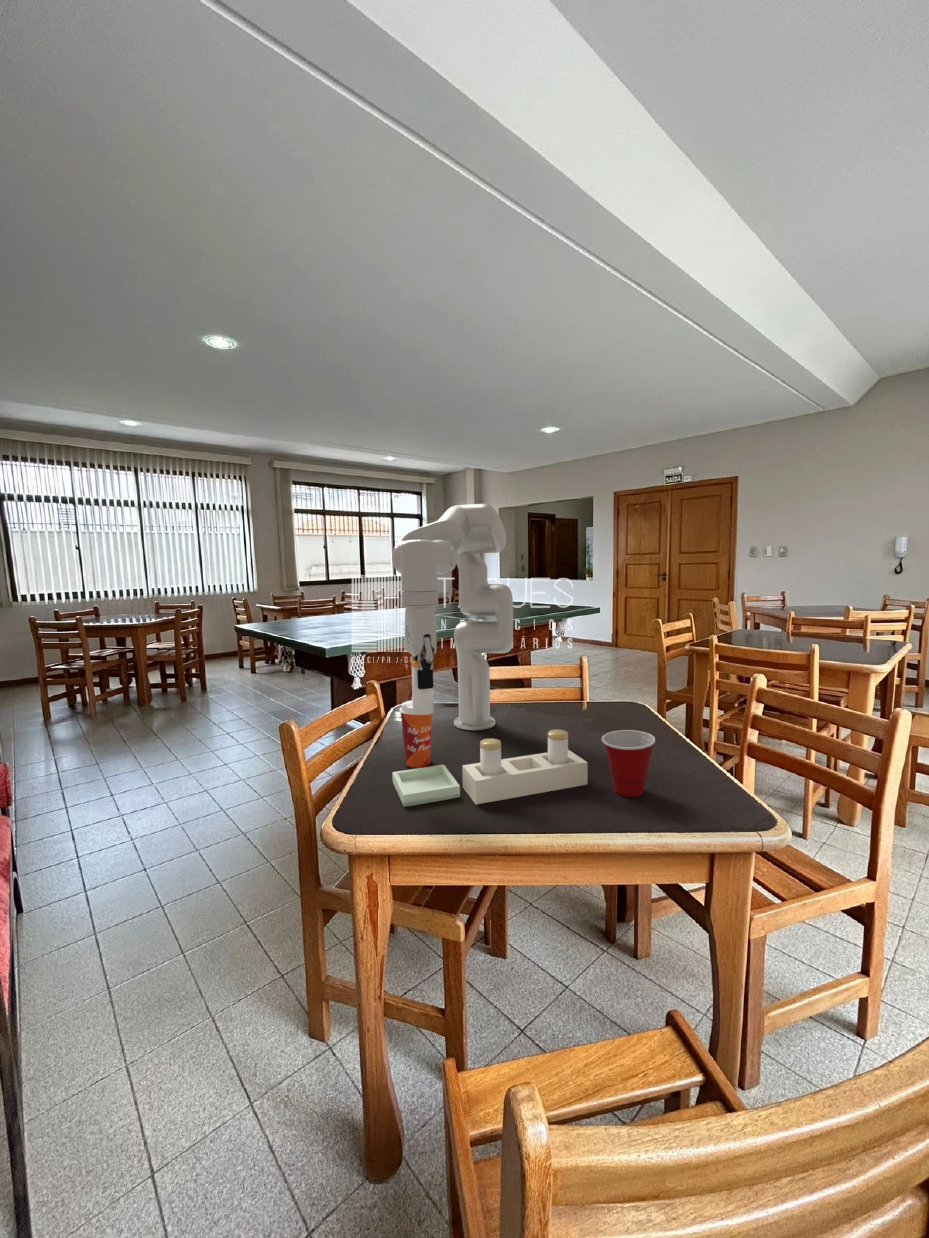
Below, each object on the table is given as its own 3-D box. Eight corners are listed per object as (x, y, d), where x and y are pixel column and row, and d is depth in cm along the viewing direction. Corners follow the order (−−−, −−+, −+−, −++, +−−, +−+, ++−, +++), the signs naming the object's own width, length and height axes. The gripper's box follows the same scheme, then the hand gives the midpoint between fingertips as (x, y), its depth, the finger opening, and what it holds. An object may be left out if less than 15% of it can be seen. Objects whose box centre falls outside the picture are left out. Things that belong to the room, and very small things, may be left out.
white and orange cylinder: (411, 710, 108) (409, 660, 107) (430, 707, 110) (429, 658, 109) (415, 715, 104) (414, 663, 103) (436, 713, 106) (434, 662, 104)
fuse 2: (544, 777, 114) (544, 730, 113) (561, 774, 115) (561, 728, 114) (553, 785, 110) (553, 737, 108) (571, 782, 111) (571, 734, 110)
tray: (392, 782, 113) (392, 772, 112) (444, 774, 117) (443, 764, 116) (403, 806, 101) (403, 795, 101) (460, 797, 105) (459, 785, 105)
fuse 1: (478, 789, 109) (477, 740, 108) (496, 785, 110) (496, 737, 109) (485, 797, 105) (484, 747, 103) (504, 794, 106) (504, 744, 105)
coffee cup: (410, 772, 118) (408, 710, 116) (395, 761, 125) (393, 702, 123) (441, 764, 122) (439, 704, 121) (425, 754, 129) (423, 697, 128)
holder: (462, 787, 110) (462, 765, 109) (567, 769, 118) (567, 749, 117) (475, 804, 102) (475, 780, 101) (587, 784, 110) (587, 762, 110)
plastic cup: (597, 779, 113) (598, 727, 111) (647, 781, 111) (648, 728, 110) (604, 802, 102) (605, 745, 101) (660, 804, 100) (661, 746, 99)
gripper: (394, 598, 111) (397, 679, 113) (411, 603, 95) (414, 697, 97) (427, 596, 114) (429, 676, 116) (449, 601, 98) (451, 693, 100)
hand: (422, 684), depth 106 cm, fingers closed on white and orange cylinder, 4 cm apart
